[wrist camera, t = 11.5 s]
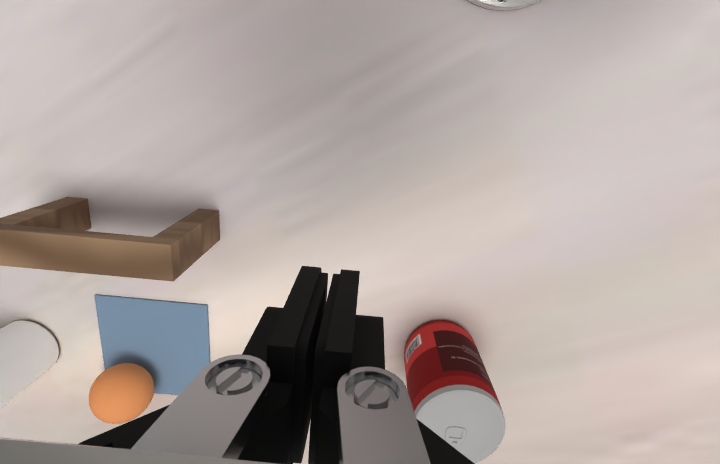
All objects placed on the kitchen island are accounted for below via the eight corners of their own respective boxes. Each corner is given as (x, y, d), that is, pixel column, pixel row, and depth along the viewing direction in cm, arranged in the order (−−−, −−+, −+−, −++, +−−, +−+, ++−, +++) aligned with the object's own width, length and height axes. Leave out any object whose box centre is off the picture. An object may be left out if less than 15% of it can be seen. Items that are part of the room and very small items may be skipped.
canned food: (409, 385, 45) (419, 472, 34) (397, 323, 42) (405, 396, 32) (478, 376, 44) (510, 462, 34) (470, 312, 42) (502, 384, 31)
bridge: (67, 197, 39) (-28, 226, 30) (218, 210, 39) (170, 244, 30) (71, 226, 40) (-19, 263, 31) (219, 239, 40) (173, 281, 31)
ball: (113, 382, 47) (101, 349, 43) (166, 386, 47) (158, 353, 44) (84, 433, 42) (68, 399, 38) (144, 437, 42) (133, 404, 39)
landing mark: (95, 294, 43) (94, 295, 42) (207, 304, 42) (206, 305, 42) (108, 387, 46) (107, 388, 46) (211, 397, 46) (210, 398, 46)
